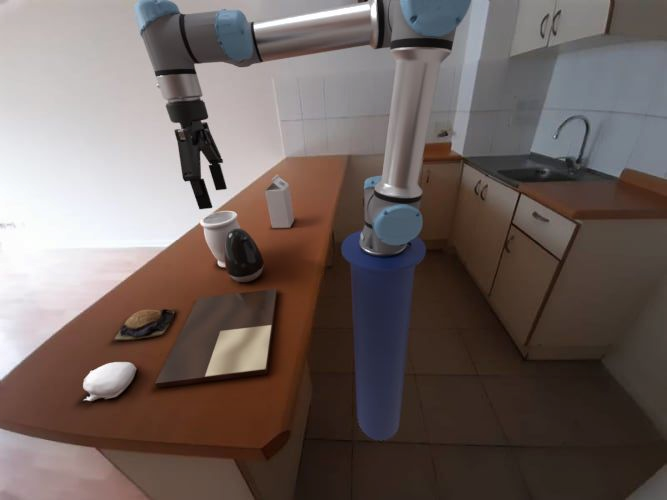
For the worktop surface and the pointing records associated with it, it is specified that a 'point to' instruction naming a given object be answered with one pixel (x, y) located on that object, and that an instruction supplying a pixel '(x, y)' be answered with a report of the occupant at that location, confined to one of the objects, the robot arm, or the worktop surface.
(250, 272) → the black egg-shaped ornament
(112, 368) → the garlic
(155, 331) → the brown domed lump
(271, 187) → the milk carton
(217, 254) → the jar
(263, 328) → the cutting board
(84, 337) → the worktop surface
